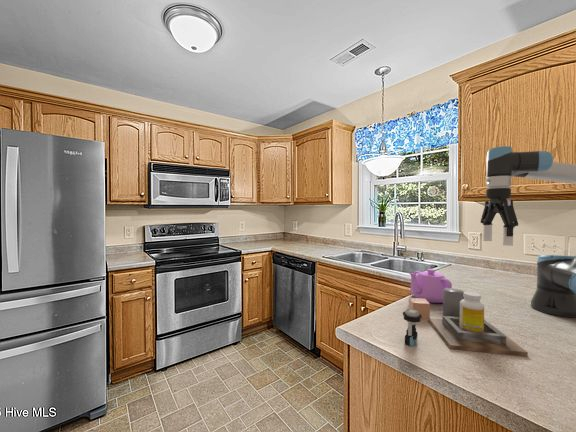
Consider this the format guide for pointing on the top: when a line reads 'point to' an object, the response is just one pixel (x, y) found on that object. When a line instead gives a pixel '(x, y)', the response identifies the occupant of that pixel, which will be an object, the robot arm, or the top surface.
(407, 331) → the push button
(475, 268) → the top surface
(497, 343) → the socket board
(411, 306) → the terracotta block
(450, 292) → the grey rounded capsule
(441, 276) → the teapot
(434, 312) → the top surface
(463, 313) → the supplement bottle
